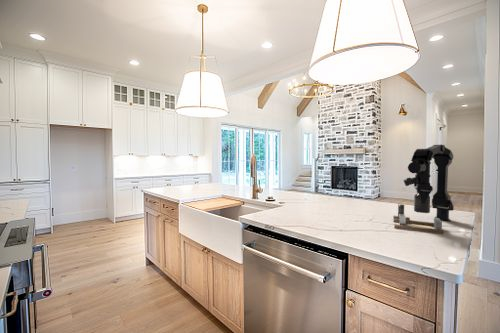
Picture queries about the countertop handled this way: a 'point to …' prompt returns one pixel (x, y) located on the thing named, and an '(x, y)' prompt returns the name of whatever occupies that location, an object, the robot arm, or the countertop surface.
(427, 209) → the supplement bottle
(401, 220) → the bar
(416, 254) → the countertop surface
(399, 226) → the press base
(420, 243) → the countertop surface
